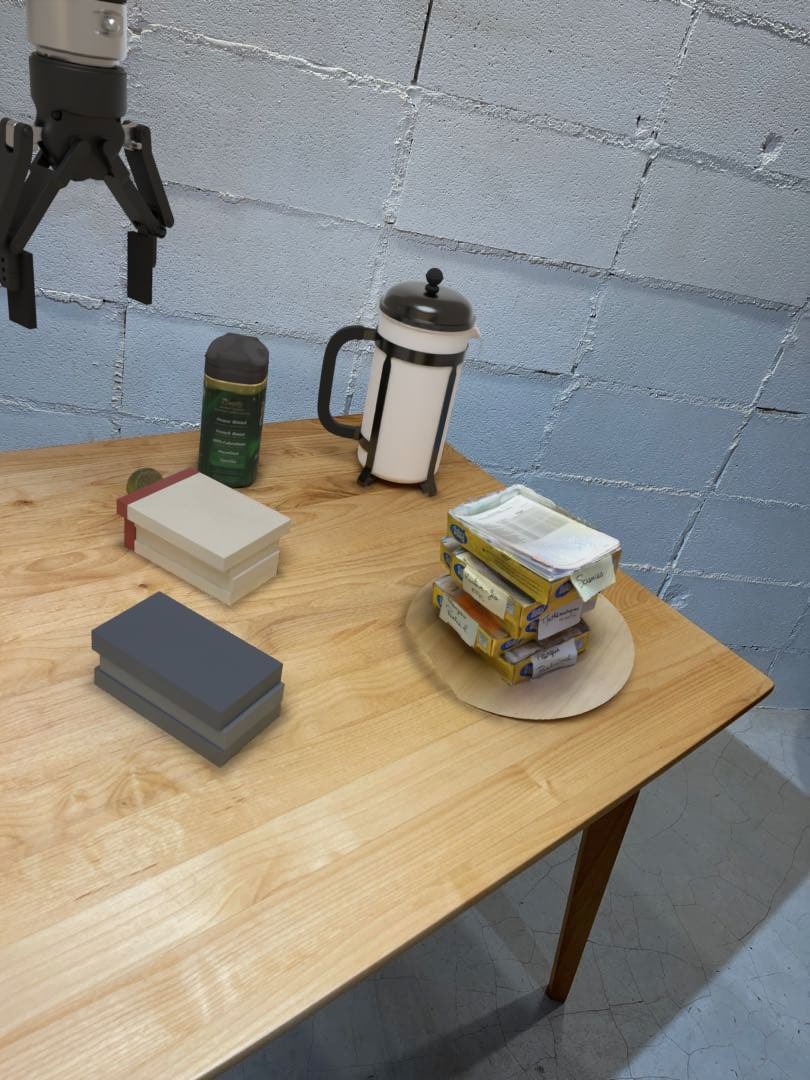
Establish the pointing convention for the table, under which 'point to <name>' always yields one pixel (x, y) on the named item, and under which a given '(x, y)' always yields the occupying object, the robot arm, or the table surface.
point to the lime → (142, 479)
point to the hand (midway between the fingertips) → (85, 312)
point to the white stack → (204, 565)
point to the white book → (204, 518)
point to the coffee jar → (233, 409)
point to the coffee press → (406, 380)
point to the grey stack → (188, 676)
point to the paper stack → (524, 609)
